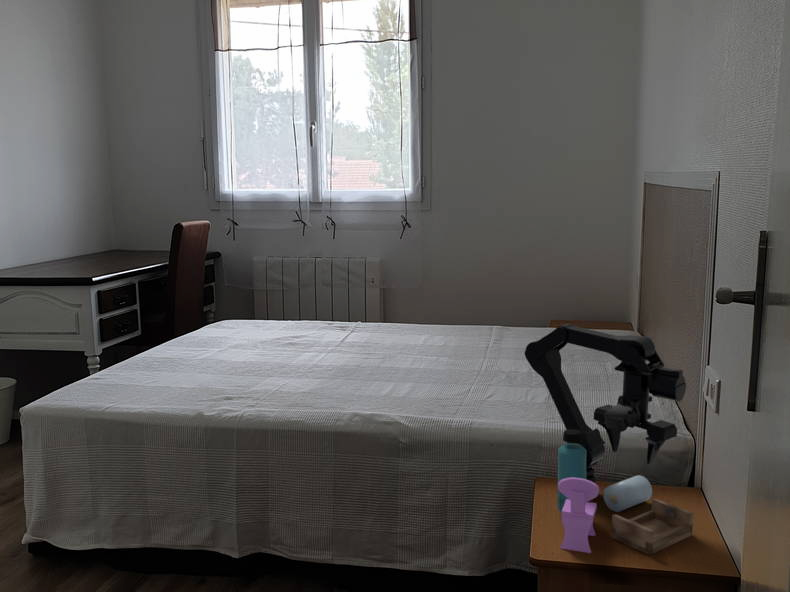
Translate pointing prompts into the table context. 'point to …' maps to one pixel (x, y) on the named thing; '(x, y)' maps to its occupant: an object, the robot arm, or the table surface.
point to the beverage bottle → (571, 460)
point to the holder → (653, 527)
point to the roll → (627, 493)
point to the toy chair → (578, 512)
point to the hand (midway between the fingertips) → (631, 457)
